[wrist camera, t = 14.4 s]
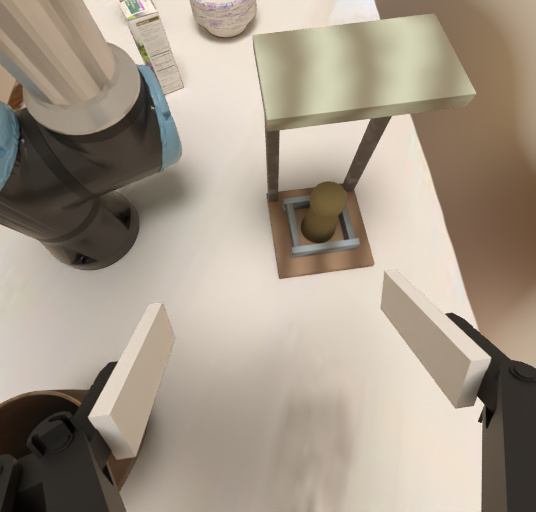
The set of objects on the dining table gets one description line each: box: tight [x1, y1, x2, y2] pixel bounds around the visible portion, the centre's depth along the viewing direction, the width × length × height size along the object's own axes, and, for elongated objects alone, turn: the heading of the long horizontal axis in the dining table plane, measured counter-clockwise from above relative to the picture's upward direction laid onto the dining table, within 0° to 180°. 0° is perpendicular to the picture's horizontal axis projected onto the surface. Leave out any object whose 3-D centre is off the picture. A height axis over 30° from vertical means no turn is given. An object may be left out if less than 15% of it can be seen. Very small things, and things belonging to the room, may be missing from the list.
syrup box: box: [119, 0, 184, 95], centre depth 53 cm, size 6×6×14 cm
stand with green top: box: [253, 14, 476, 279], centre depth 34 cm, size 17×16×27 cm
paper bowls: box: [190, 0, 257, 37], centre depth 62 cm, size 15×15×8 cm
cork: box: [301, 182, 347, 243], centre depth 41 cm, size 6×6×11 cm
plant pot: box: [0, 390, 146, 491], centre depth 30 cm, size 15×15×16 cm
